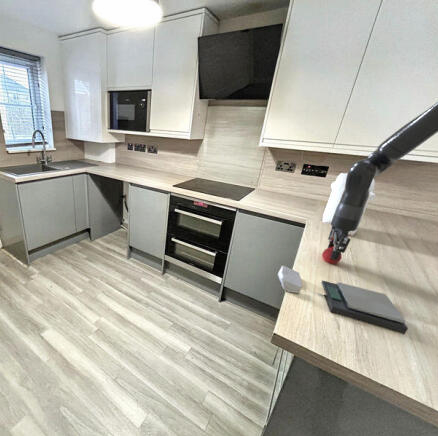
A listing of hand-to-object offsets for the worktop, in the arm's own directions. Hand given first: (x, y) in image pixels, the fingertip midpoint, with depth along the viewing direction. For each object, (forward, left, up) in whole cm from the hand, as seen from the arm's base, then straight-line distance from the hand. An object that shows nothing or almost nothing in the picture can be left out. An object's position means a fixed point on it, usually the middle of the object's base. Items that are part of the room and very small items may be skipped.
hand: (331, 255), depth 91 cm
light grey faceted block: (+16, +24, -4) cm, 29 cm away
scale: (-2, +26, -4) cm, 26 cm away
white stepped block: (-15, -51, -4) cm, 53 cm away
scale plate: (-4, +26, -1) cm, 26 cm away
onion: (0, 0, -4) cm, 4 cm away
